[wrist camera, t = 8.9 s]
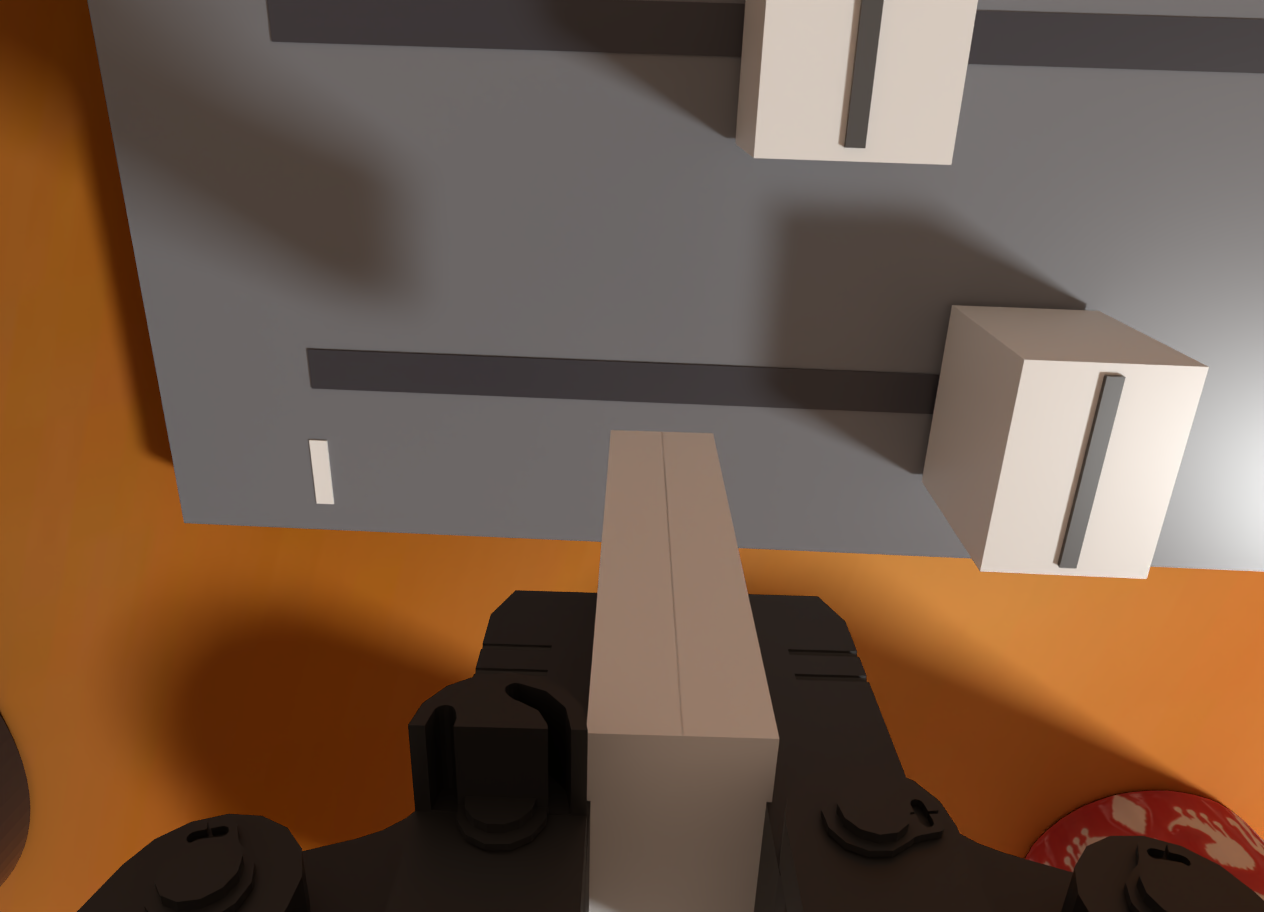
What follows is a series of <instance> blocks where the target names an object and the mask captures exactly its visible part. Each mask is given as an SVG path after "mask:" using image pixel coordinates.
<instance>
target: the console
mask: <svg viewBox="0 0 1264 912" xmlns="http://www.w3.org/2000/svg"><path fill="white" fill-rule="evenodd" d="M87 1H88V6H89V12H90V17H91V23H92V28H93V33H94V39H95V44H96V50H97V55H98V60H99V66H100V71H101V76H102V82H103V87H104V93H105V98H106V103H107V109H108V114H109V120H110V125H111V130H112V136H113V141H114V147H115V152H116V157H117V163H118V168H119V174H120V179H121V184H122V190H123V195H124V201H125V206H126V211H127V217H128V222H129V228H130V233H131V238H132V244H133V249H134V255H135V260H136V265H137V271H138V276H139V281H140V287H141V292H142V298H143V303H144V308H145V314H146V319H147V325H148V330H149V335H150V341H151V346H152V352H153V357H154V362H155V368H156V373H157V379H158V384H159V389H160V395H161V400H162V406H163V411H164V416H165V422H166V427H167V433H168V438H169V443H170V449H171V454H172V460H173V465H174V470H175V476H176V481H177V486H178V492H179V497H180V503H181V508H182V513H183V519H184V523H197V524H219V525H241V526H264V527H286V528H308V529H330V530H353V531H375V532H397V533H419V534H441V535H464V536H486V537H508V538H530V539H552V540H575V541H597V542H602V532H603V520H604V508H605V496H606V484H607V471H608V459H609V447H610V435H611V430H623V431H655V432H687V433H713V435H714V440H715V445H716V449H717V454H718V458H719V463H720V468H721V472H722V477H723V481H724V486H725V491H726V495H727V500H728V504H729V509H730V514H731V518H732V523H733V527H734V532H735V537H736V541H737V546H738V548H752V549H775V550H797V551H819V552H841V553H863V554H886V555H908V556H930V557H952V558H971V557H970V555H969V553H968V552H967V550H966V549H965V547H964V546H963V544H962V543H961V541H960V540H959V538H958V537H957V535H956V534H955V532H954V530H953V529H952V527H951V526H950V524H949V523H948V521H947V520H946V518H945V517H944V515H943V514H942V512H941V510H940V509H939V507H938V506H937V504H936V503H935V501H934V500H933V498H932V497H931V495H930V494H929V492H928V490H927V489H926V487H925V486H924V484H923V483H922V476H923V470H924V465H925V459H926V453H927V447H928V441H929V436H930V430H931V424H932V418H933V412H934V407H935V401H936V395H937V389H938V383H939V378H940V372H941V366H942V360H943V354H944V349H945V343H946V337H947V331H948V325H949V320H950V314H951V308H952V305H961V306H987V307H1013V308H1039V309H1065V310H1091V311H1100V312H1102V313H1104V314H1106V315H1108V316H1110V317H1112V318H1114V319H1116V320H1118V321H1120V322H1122V323H1124V324H1126V325H1128V326H1129V327H1131V328H1133V329H1135V330H1137V331H1139V332H1141V333H1143V334H1145V335H1147V336H1149V337H1151V338H1153V339H1155V340H1157V341H1159V342H1161V343H1163V344H1165V345H1167V346H1169V347H1171V348H1173V349H1175V350H1177V351H1179V352H1181V353H1183V354H1184V355H1186V356H1188V357H1190V358H1192V359H1194V360H1196V361H1198V362H1200V363H1202V364H1204V365H1206V366H1208V367H1209V369H1208V372H1207V376H1206V379H1205V382H1204V386H1203V389H1202V393H1201V396H1200V399H1199V403H1198V406H1197V410H1196V413H1195V416H1194V420H1193V423H1192V427H1191V430H1190V433H1189V437H1188V440H1187V444H1186V447H1185V450H1184V454H1183V457H1182V461H1181V464H1180V467H1179V471H1178V474H1177V478H1176V481H1175V484H1174V488H1173V491H1172V495H1171V498H1170V501H1169V505H1168V508H1167V511H1166V515H1165V518H1164V522H1163V525H1162V528H1161V532H1160V535H1159V539H1158V542H1157V545H1156V549H1155V552H1154V556H1153V559H1152V562H1151V566H1152V567H1174V568H1197V569H1219V570H1241V571H1263V572H1264V0H978V4H977V10H976V16H975V22H974V28H973V34H972V41H971V47H970V53H969V59H968V65H967V71H966V78H965V84H964V90H963V96H962V102H961V108H960V115H959V121H958V127H957V133H956V139H955V145H954V152H953V158H952V164H951V165H939V164H910V163H882V162H853V161H824V160H795V159H766V158H753V157H752V156H750V155H749V154H748V153H747V152H745V151H744V150H743V149H741V148H740V147H739V146H738V145H736V144H735V140H736V126H737V112H738V98H739V84H740V70H741V56H742V42H743V28H744V14H745V0H87Z"/></svg>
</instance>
